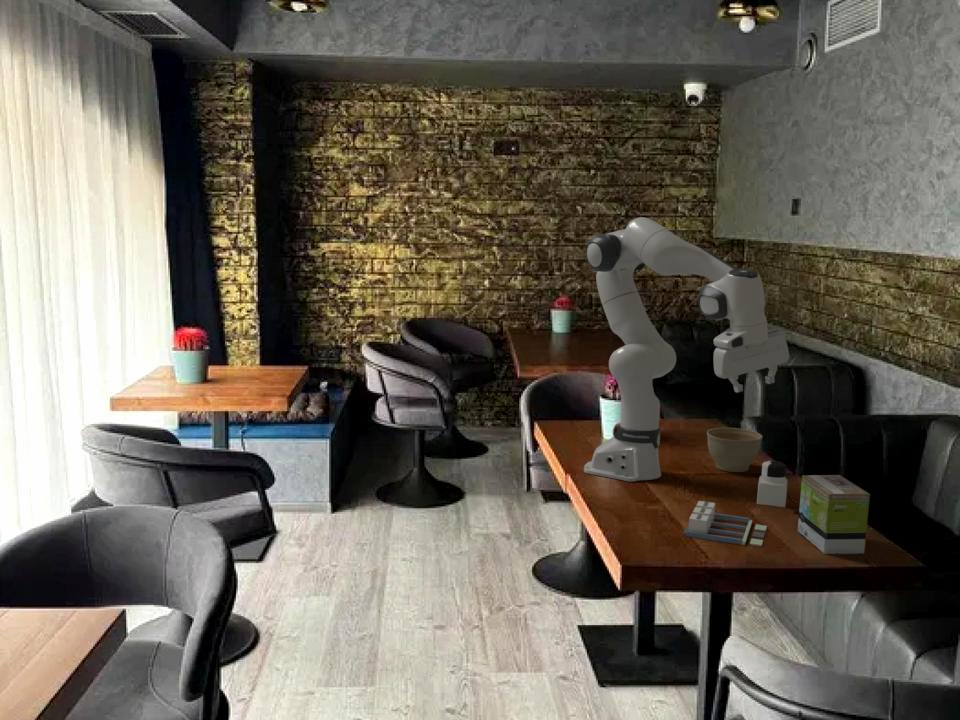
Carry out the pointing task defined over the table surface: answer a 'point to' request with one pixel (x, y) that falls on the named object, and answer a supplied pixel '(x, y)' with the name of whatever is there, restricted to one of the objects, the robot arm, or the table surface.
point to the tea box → (833, 514)
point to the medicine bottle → (772, 484)
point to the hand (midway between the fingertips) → (754, 387)
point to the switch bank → (729, 539)
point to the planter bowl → (733, 448)
